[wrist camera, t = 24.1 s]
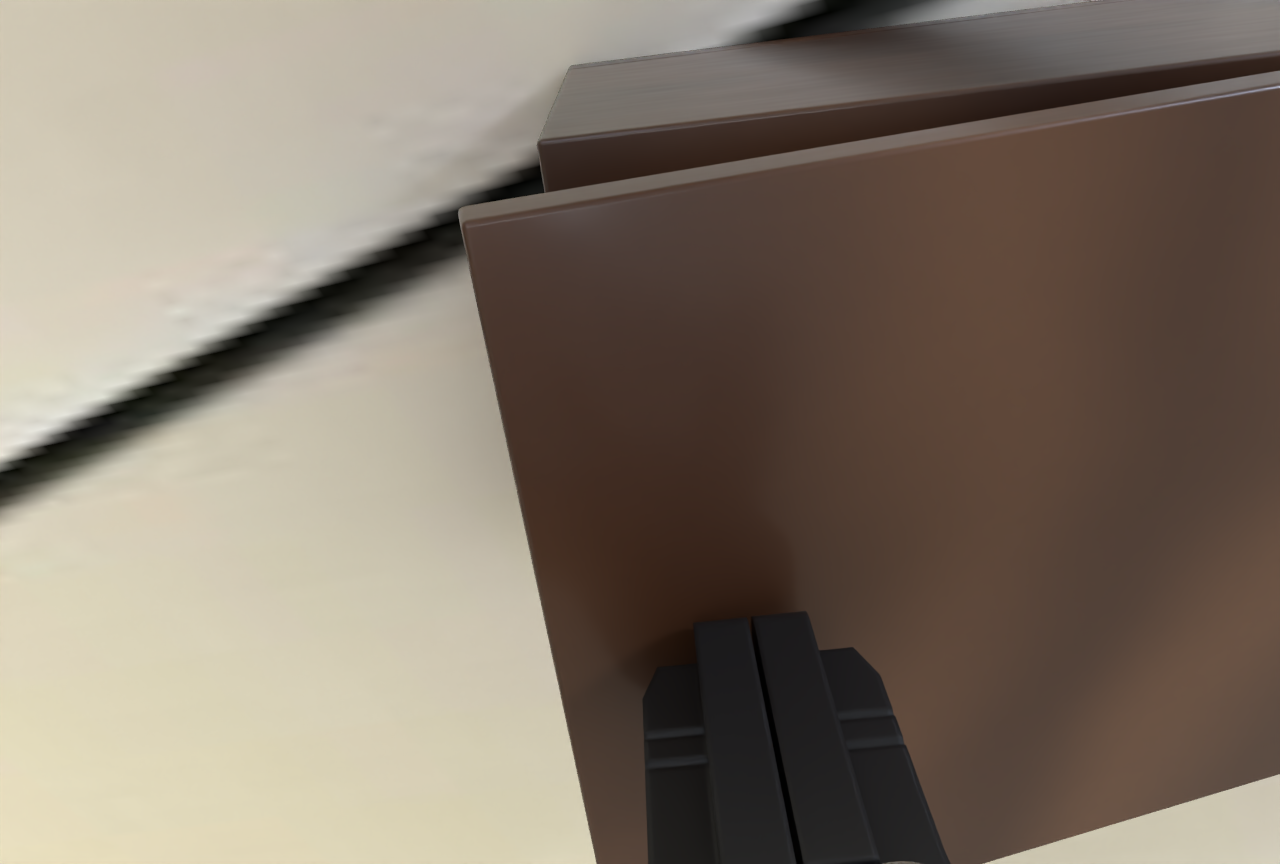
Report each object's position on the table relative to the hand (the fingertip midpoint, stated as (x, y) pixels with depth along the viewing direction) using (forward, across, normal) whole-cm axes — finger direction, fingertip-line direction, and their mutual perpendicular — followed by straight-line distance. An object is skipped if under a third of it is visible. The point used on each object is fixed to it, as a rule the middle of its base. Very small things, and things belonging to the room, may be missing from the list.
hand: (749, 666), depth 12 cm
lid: (+2, -5, 0) cm, 5 cm away
